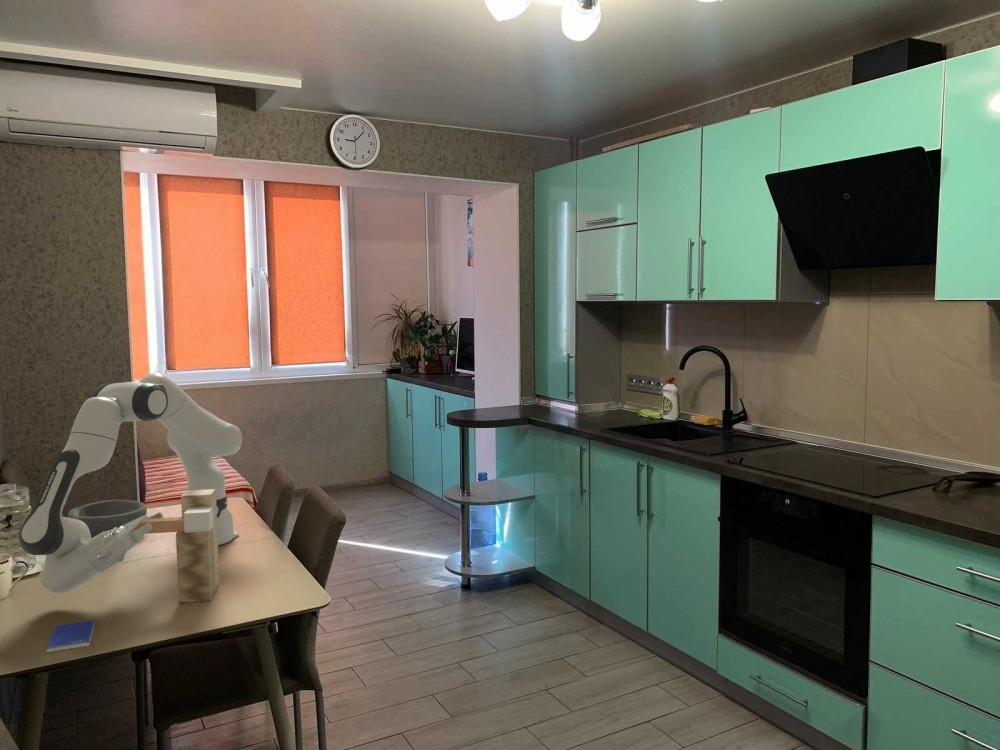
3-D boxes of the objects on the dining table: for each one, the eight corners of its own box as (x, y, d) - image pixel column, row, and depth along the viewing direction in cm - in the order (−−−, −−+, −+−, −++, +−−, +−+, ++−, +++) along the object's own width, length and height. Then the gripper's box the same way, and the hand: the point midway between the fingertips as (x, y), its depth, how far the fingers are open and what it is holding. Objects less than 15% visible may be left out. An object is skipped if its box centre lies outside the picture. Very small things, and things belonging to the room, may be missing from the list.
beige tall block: (178, 603, 189) (174, 502, 187) (190, 584, 202) (186, 490, 200) (210, 600, 191) (206, 501, 188) (219, 582, 203) (215, 489, 201)
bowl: (115, 549, 233) (113, 518, 232) (53, 545, 237) (51, 514, 236) (162, 528, 255) (161, 499, 254) (105, 524, 259) (103, 496, 259)
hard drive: (89, 640, 166) (94, 619, 177) (46, 647, 162) (54, 625, 174) (89, 647, 166) (94, 626, 177) (46, 654, 163) (55, 632, 174)
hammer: (213, 525, 195) (213, 506, 195) (209, 531, 190) (208, 512, 189) (146, 529, 192) (145, 510, 192) (140, 535, 187) (139, 515, 186)
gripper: (84, 552, 177) (137, 521, 179) (112, 527, 197) (159, 499, 199) (100, 574, 178) (152, 542, 180) (126, 547, 198) (173, 519, 200)
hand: (156, 520), depth 190 cm, fingers open, 8 cm apart
